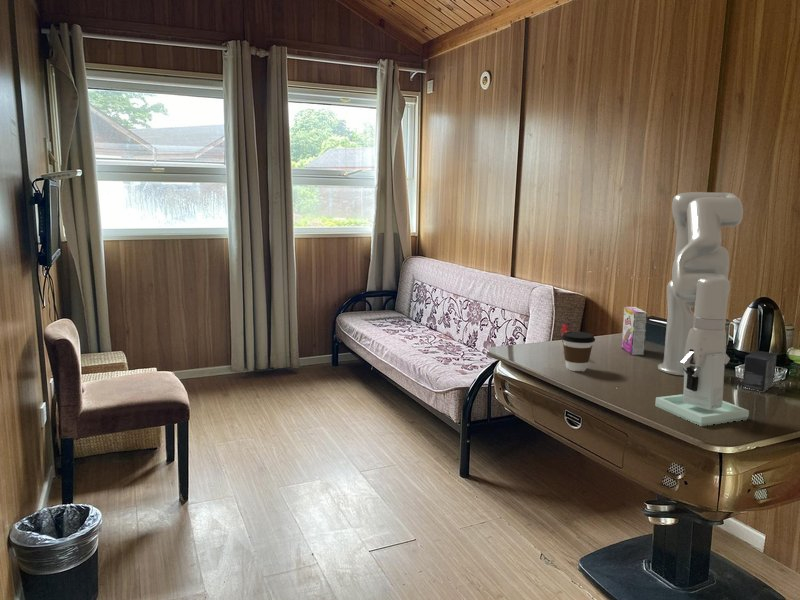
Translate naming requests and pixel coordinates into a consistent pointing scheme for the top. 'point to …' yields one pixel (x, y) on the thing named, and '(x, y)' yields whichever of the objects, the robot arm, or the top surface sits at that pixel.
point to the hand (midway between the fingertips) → (702, 388)
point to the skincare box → (707, 384)
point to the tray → (701, 411)
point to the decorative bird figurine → (564, 330)
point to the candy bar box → (634, 330)
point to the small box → (759, 370)
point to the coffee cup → (577, 349)
